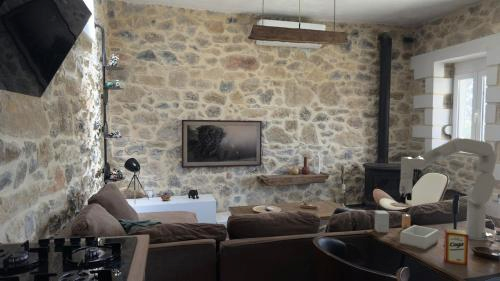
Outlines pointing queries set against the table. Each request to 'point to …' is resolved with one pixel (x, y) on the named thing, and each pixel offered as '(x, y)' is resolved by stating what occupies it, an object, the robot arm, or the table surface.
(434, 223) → the table surface
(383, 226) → the supplement box
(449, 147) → the robot arm
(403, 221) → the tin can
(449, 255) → the baking soda box
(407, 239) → the tote
